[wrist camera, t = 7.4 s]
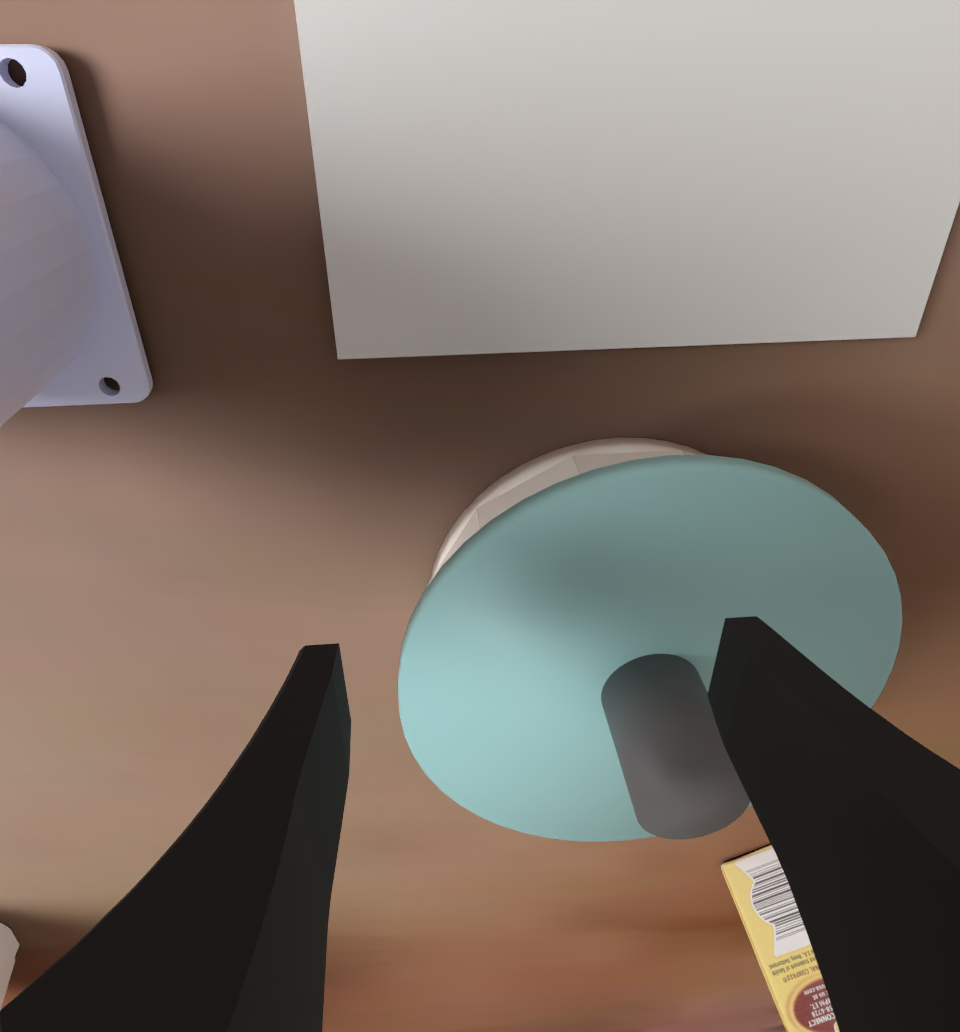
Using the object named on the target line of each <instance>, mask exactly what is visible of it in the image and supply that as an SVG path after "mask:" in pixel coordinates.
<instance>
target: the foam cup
mask: <svg viewBox="0 0 960 1032" xmlns="http://www.w3.org/2000/svg"><path fill="white" fill-rule="evenodd" d="M18 948H19V943H18V941H17V940H16V938H15V936H14V934H13V932H12V930H11V929H10V928H8V927H7V926H5V925H4V924H2V923H0V1010H1V1007H2V1003H3V1000H4V997H5V993H6V990H7V987H8V983H9V980H10V977H11V973H12V970H13V967H14V963H15V955H16V953H17V950H18Z"/></svg>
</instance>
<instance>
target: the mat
mask: <svg viewBox="0 0 960 1032" xmlns="http://www.w3.org/2000/svg"><path fill="white" fill-rule="evenodd" d="M294 3H295V12H296V20H297V28H298V36H299V45H300V53H301V61H302V69H303V77H304V86H305V94H306V102H307V110H308V119H309V127H310V135H311V143H312V152H313V160H314V168H315V176H316V184H317V193H318V201H319V209H320V217H321V226H322V234H323V242H324V250H325V258H326V267H327V275H328V283H329V291H330V300H331V308H332V316H333V324H334V332H335V341H336V349H337V357H338V359H362V358H387V357H413V356H439V355H464V354H490V353H516V352H542V351H567V350H593V349H619V348H644V347H670V346H696V345H721V344H747V343H773V342H799V341H824V340H850V339H876V338H901V337H916V334H917V330H918V327H919V324H920V321H921V318H922V315H923V312H924V309H925V306H926V303H927V300H928V297H929V294H930V291H931V288H932V285H933V282H934V279H935V275H936V272H937V269H938V266H939V263H940V260H941V257H942V254H943V251H944V248H945V245H946V242H947V239H948V236H949V233H950V230H951V227H952V224H953V221H954V217H955V214H956V211H957V208H958V205H959V202H960V0H294Z"/></svg>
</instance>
